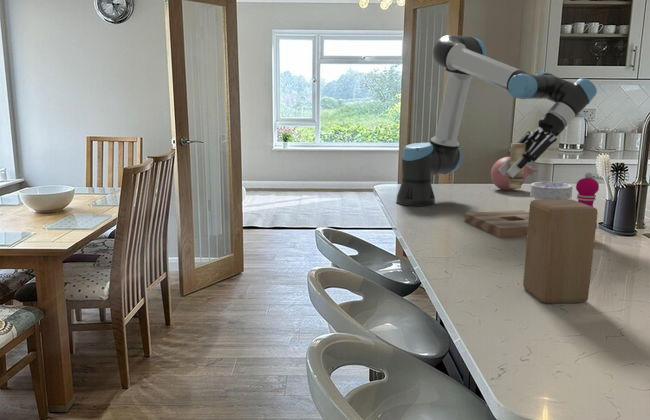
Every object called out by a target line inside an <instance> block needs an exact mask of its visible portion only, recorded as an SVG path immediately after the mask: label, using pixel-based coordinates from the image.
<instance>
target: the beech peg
mask: <svg viewBox="0 0 650 420" xmlns="http://www.w3.org/2000/svg"><path fill="white" fill-rule="evenodd" d="M525 148H526V144H523V143H518V142H516V143H515V142H514V143H513V142H512V143H510V150H509V152H510V153H509V157H510V163H509V169H510V168H511V166H512V165H513V164H514V163H515V162H516V161H517V160H518V159H519V158H520V157H523V155H522V154H526V152H525ZM523 158H524V157H523ZM523 173H524V167H523V168H522V169H521V170H520V171H519V172H518V173H517V174H516V175H515V176H514V177H513V178H512V177H511V176H510V175H509V176H508V180H510V181H509V188H513V189H515V190H517V189H518V190H519V189H521V188H522V185H521V181H523Z"/></svg>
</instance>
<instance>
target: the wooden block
mask: <svg viewBox="0 0 650 420" xmlns="http://www.w3.org/2000/svg"><path fill="white" fill-rule="evenodd" d="M528 212H529V221H528V233H527V236H526V246H525V247H526V248H525V258H524V268H523V269H524V271H523V281H522V283H523V284H522V285H523V288H524V289H525V290H526V291H527V292H528V293H530V294H531V295H533V297H535V298H536V299H538V301H540V303H541V302H542V303H544V304H553V303H554V304H559V303H560V304H561V303H562V304H563V303H585V302H587V301H588V300H589V294H590V293H589V292H590V283H591V275H592V266H593V258H594V248H595V239H596V231H597V228H596V223H598V221H597V220H598V209H597V207H595V206H593V207H592V206H589V205H586V204H583V203H580V202H578V200H575V199H572V198H570V199H559V200H535V199H533V200H530V202H529V210H528Z"/></svg>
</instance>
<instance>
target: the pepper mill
mask: <svg viewBox="0 0 650 420" xmlns="http://www.w3.org/2000/svg"><path fill="white" fill-rule="evenodd" d="M592 177H593V174H592V173H590V172H587V173H586V174H585V175H584V177H583V178H581V179H578V181H577V182H576V185H575V190H576V191H577V194H576V199H577V202H580V203H583V204H586V205H589V206H592V207H594V202H595V201H596V197H597V195H596V194H597V193H598V192H599V190H600V189H599V188H600V187H599V186H600V185H599V182H598V180H596V179H595V178H592ZM597 223H598V222H597ZM597 223H596V229H597V227H598V226H597V225H598V224H597Z"/></svg>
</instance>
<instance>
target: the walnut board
mask: <svg viewBox="0 0 650 420" xmlns="http://www.w3.org/2000/svg"><path fill="white" fill-rule="evenodd" d="M528 221H529V211H526V210H523V209H520V210H502V211H501V210H500V211H499V210H498V211H479V212H464V223H466V224H469V225H471V226H473V227H475V228H478V229H480V230H482V231H484V232H486V233H488V234H491V235H492V236H495V237H496V238H500V239H501V238H502V239H503V238H516V237H517V238H519V237H527V233H528Z"/></svg>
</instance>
